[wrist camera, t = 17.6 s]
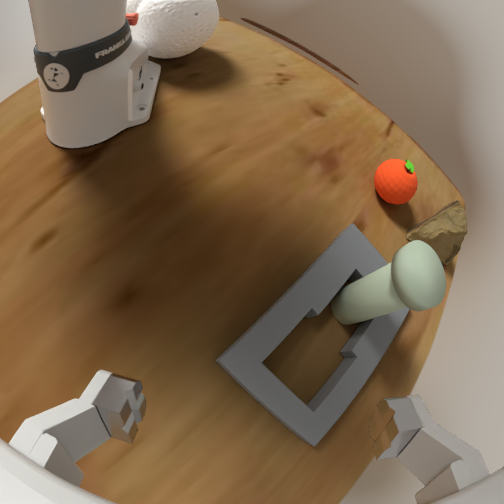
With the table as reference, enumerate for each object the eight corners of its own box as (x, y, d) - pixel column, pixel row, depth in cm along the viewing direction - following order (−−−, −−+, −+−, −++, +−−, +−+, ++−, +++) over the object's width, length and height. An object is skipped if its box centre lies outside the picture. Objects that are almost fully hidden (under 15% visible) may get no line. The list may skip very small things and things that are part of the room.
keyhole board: (303, 441, 24) (314, 446, 21) (214, 360, 25) (218, 360, 23) (403, 302, 33) (415, 297, 31) (342, 231, 34) (352, 222, 32)
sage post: (325, 279, 31) (398, 233, 20) (365, 285, 32) (440, 247, 21) (324, 329, 29) (406, 304, 18) (366, 331, 30) (448, 309, 19)
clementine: (372, 164, 42) (396, 138, 35) (402, 190, 42) (428, 167, 36) (360, 192, 38) (389, 165, 32) (394, 220, 38) (425, 198, 32)
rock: (462, 250, 39) (440, 202, 39) (486, 254, 31) (462, 197, 31) (420, 281, 41) (396, 232, 41) (439, 291, 33) (413, 232, 33)
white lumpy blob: (205, 82, 39) (228, -2, 25) (102, 78, 34) (102, -5, 20) (211, 39, 46) (229, -22, 32) (132, 34, 41) (140, -27, 27)
